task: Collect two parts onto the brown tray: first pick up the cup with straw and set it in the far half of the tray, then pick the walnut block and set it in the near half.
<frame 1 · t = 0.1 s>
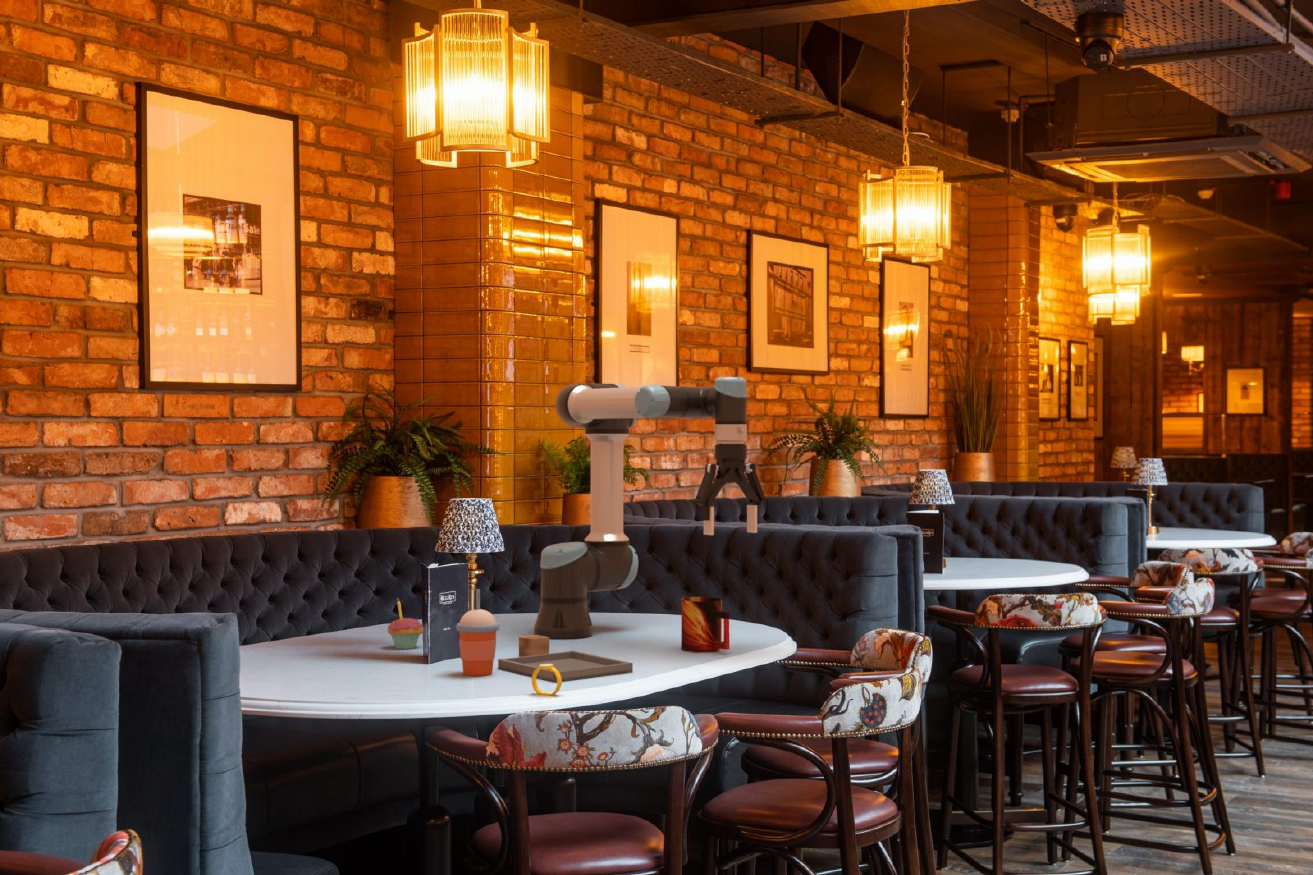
hand: (730, 533, 322), 28 cm above the table, fingers open, 13 cm apart
mug: (709, 651, 327), on the table
tray: (564, 670, 297), on the table
walnut block: (534, 659, 314), on the table
cupcake: (405, 648, 330), on the table
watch: (546, 695, 269), on the table
cup with straw: (477, 674, 293), on the table
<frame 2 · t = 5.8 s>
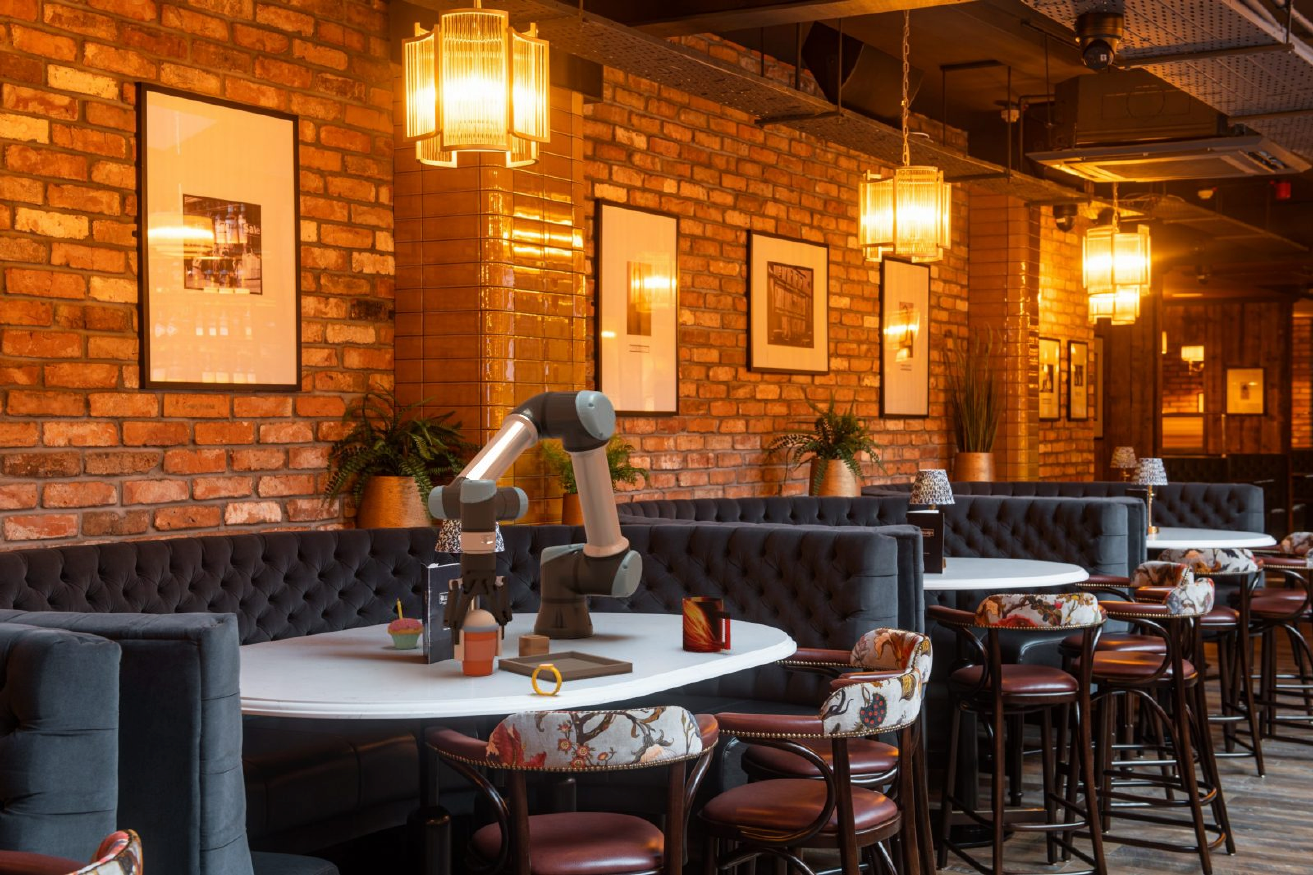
hand: (478, 657, 293), 3 cm above the table, fingers closed on cup with straw, 8 cm apart
cup with straw: (477, 674, 293), on the table, touching gripper
everything else where it was.
when the fingers open (5 cm above the table, at t = 12.2 s): cup with straw drops 1 cm, resting on tray.
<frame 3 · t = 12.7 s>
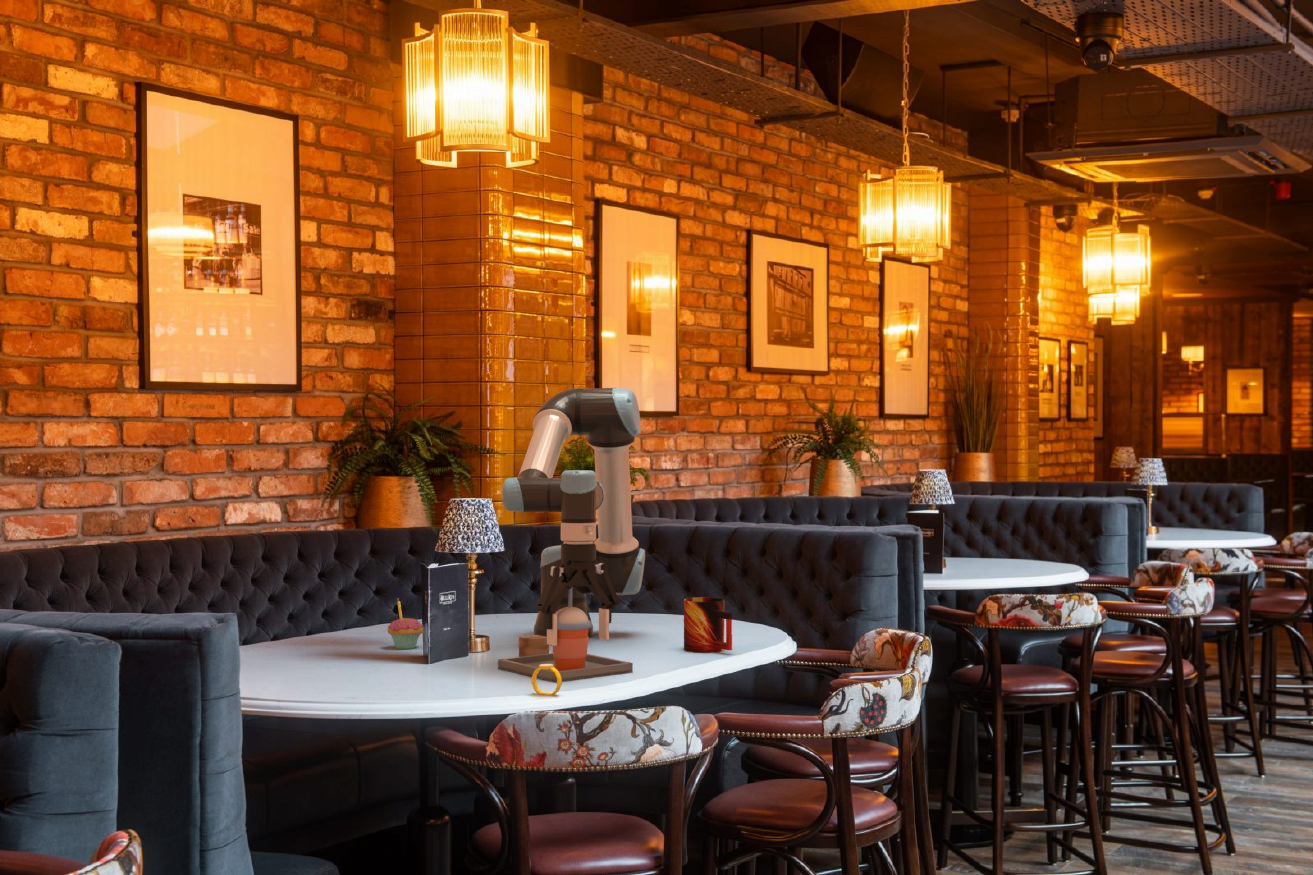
hand: (578, 642, 293), 7 cm above the table, fingers open, 13 cm apart
cup with straw: (569, 672, 292), resting on tray
everything else where it was.
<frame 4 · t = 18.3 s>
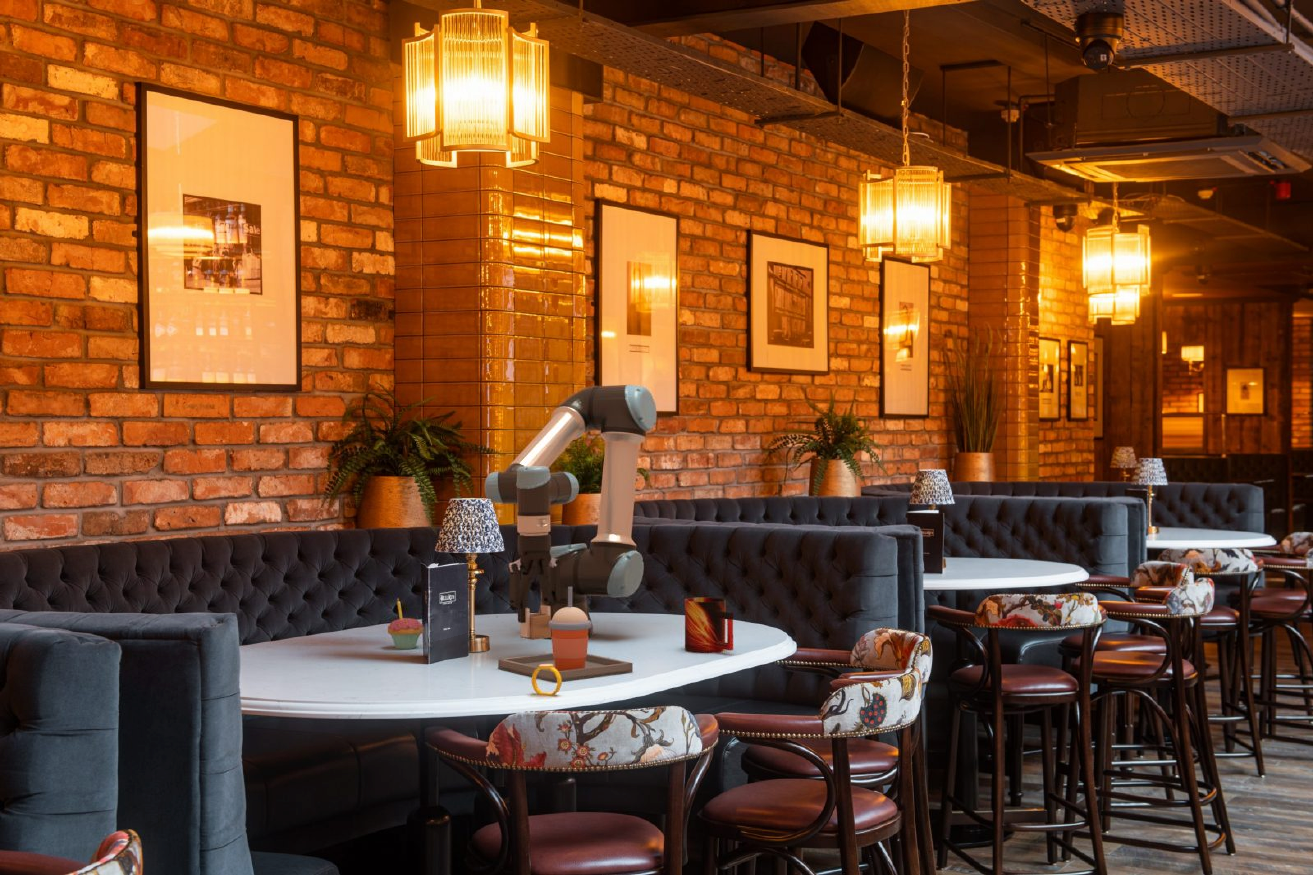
hand: (535, 635, 314), 5 cm above the table, fingers closed on walnut block, 5 cm apart
walnut block: (536, 637, 314), point 5 cm above the table, touching gripper
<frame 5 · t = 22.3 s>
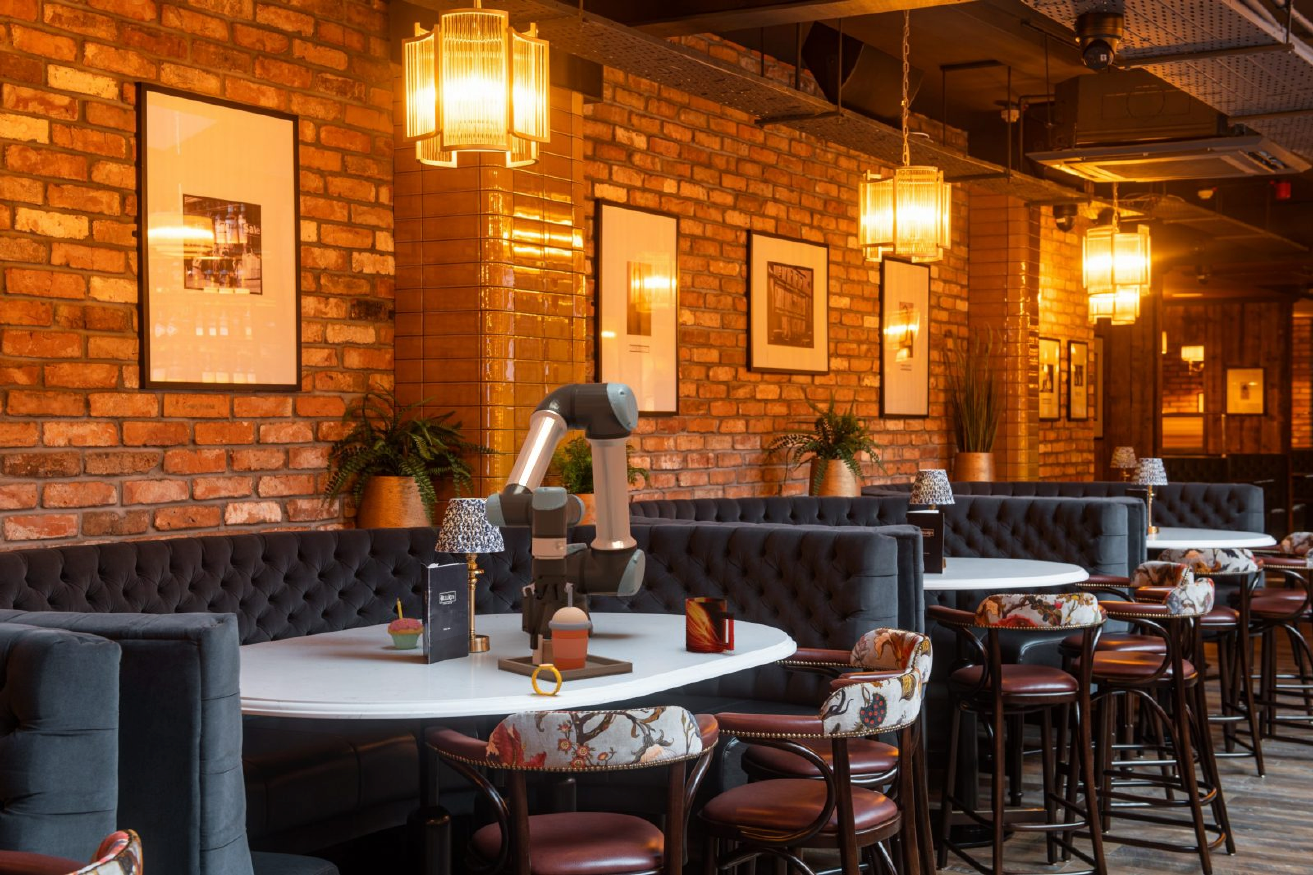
hand: (548, 663, 302), 1 cm above the table, fingers closed on walnut block, 5 cm apart
walnut block: (549, 664, 302), point 1 cm above the table, touching gripper, tray
when the fingers open (1 cm above the table, at t = 22.3 s): walnut block stays where it is, resting on tray.
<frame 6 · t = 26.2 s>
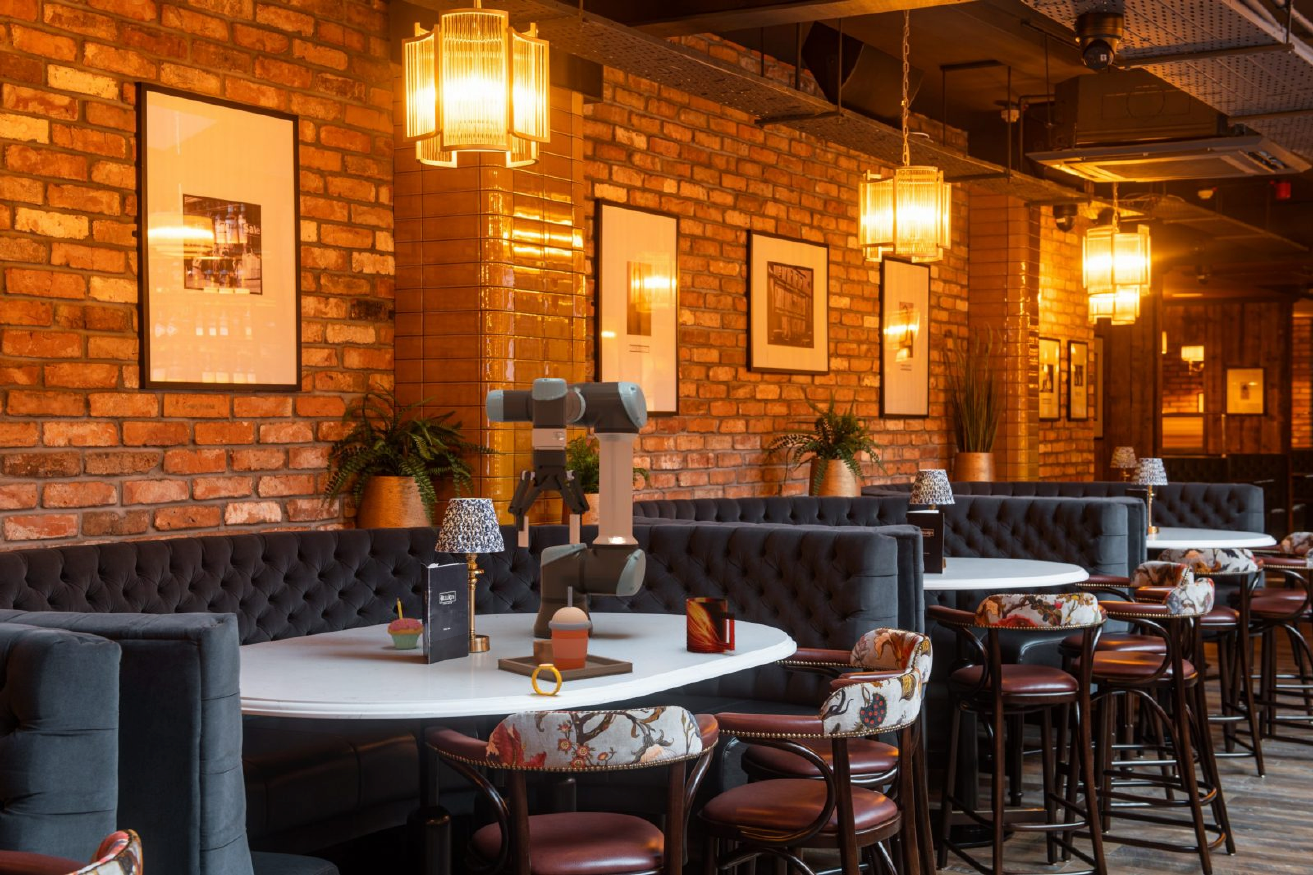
hand: (549, 545, 302), 27 cm above the table, fingers open, 13 cm apart
walnut block: (549, 664, 302), point 1 cm above the table, touching tray
at the end: cup with straw inside the target area on the tray (5.4 cm from its centre), point 0.4 cm above the tray's base; cup with straw tilted 0°; walnut block inside the target area on the tray (5.9 cm from its centre), point 0.6 cm above the tray's base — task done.
